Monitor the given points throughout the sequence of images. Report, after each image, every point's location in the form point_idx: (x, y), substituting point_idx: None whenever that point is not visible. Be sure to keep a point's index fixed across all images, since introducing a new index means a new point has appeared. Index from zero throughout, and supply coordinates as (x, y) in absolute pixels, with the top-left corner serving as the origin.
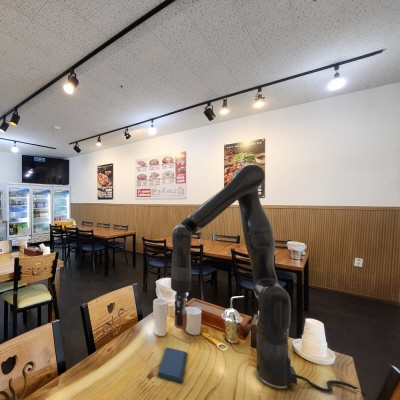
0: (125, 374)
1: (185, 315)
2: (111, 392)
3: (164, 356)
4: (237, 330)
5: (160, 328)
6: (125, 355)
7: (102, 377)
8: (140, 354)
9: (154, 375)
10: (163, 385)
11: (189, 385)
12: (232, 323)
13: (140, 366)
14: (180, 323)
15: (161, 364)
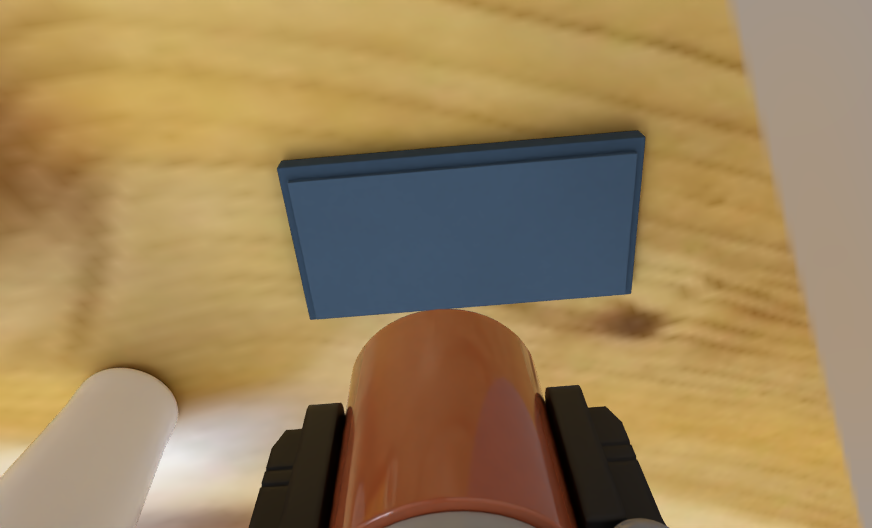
0: (671, 433)
1: (520, 479)
2: (818, 438)
3: (441, 305)
4: None
5: (150, 438)
6: None
7: (727, 506)
8: None
9: (623, 303)
10: (696, 231)
11: (641, 67)
12: None
13: None
14: (622, 439)
15: (540, 299)
